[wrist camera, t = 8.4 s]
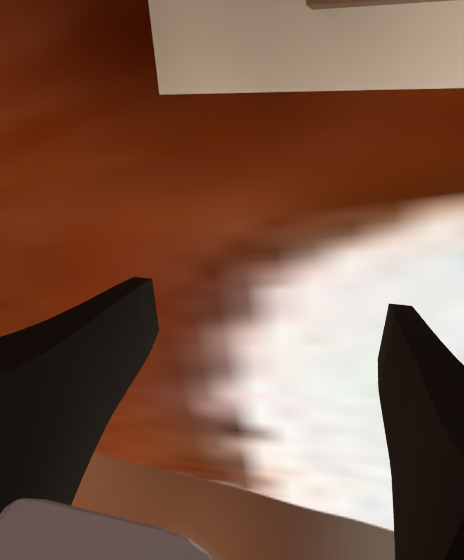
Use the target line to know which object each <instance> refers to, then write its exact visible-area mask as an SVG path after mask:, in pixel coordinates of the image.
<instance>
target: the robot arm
mask: <svg viewBox="0 0 464 560" xmlns="http://www.w3.org/2000/svg"><path fill="white" fill-rule="evenodd" d="M158 332H159V326H158V319H157V312H156V305H155V297H154V290H153V283H152V279H148V278H139V277H133V278H131V279H128V280H126V281H124V282H122V283H120V284H118V285H116V286H114V287H112V288H110V289H108V290H107V291H105V292H103V293H101V294H99V295H97V296H95V297H93V298H91V299H89V300H87V301H86V302H84V303H82V304H80V305H78V306H75V307H73V308H71V309H69V310H67V311H65V312H63V313H61V314H59V315H57V316H55V317H52V318H50V319H48V320H45V321H43V322H41V323H38V324H36V325H33V326H31V327H28V328H25V329H23V330H20V331H17V332H14V333H11V334H8V335H5V336H2V337H0V560H212V559H211V557H210V555H209V554H208V553H207V552H206V551H205V550H204V549H202V548H201V547H200V546H198V545H197V544H196V543H194V542H193V541H192V540H190V539H189V538H188V537H185V536H183V535H180V534H178V533H175V532H172V531H170V530H167V529H165V528H162V527H158V526H154V525H150V524H146V523H142V522H137V521H133V520H129V519H125V518H121V517H116V516H112V515H108V514H103V513H100V512H95V511H91V510H87V509H83V508H79V507H74V506H71V504H72V502H73V499H74V497H75V494H76V492H77V489H78V487H79V485H80V482H81V480H82V477H83V475H84V473H85V470H86V468H87V466H88V464H89V462H90V459H91V457H92V455H93V453H94V450H95V448H96V446H97V444H98V442H99V440H100V438H101V436H102V434H103V432H104V430H105V427H106V425H107V423H108V421H109V420H110V418H111V416H112V414H113V413H114V411H115V409H116V408H117V406H118V404H119V403H120V401H121V400H122V398H123V396H124V395H125V393H126V391H127V390H128V388H129V387H130V385H131V383H132V382H133V380H134V379H135V377H136V375H137V374H138V372H139V371H140V369H141V367H142V366H143V364H144V362H145V361H146V359H147V357H148V355H149V353H150V351H151V349H152V346H153V344H154V342H155V339H156V337H157V334H158ZM378 389H379V397H380V403H381V409H382V416H383V422H384V428H385V434H386V440H387V446H388V453H389V459H390V467H391V476H392V494H393V513H394V537H395V560H464V365H463V364H462V363H461V362H460V361H459V360H458V359H457V358H456V357H455V356H454V355H453V354H452V353H451V352H450V351H449V350H448V348H447V347H446V346H445V345H444V344H443V343H442V342H441V341H440V339H439V338H438V337H437V336H436V335H435V333H434V332H433V331H432V330H431V329H430V327H429V326H428V325H427V324H426V323H425V321H424V320H423V319H422V318H421V316H420V315H419V314H418V313H417V311H416V310H415V309H414V308H413V307H412V306H407V305H397V304H389V306H388V311H387V316H386V321H385V326H384V331H383V336H382V341H381V346H380V351H379V356H378Z"/></svg>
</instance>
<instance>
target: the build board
mask: <svg viewBox="0 0 464 560" xmlns="http://www.w3.org/2000/svg"><path fill="white" fill-rule="evenodd" d="M148 3H149V11H150V20H151V28H152V36H153V45H154V53H155V61H156V70H157V78H158V86H159V95H162V94H208V93H253V92H299V91H344V90H390V89H436V88H464V0H148Z"/></svg>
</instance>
